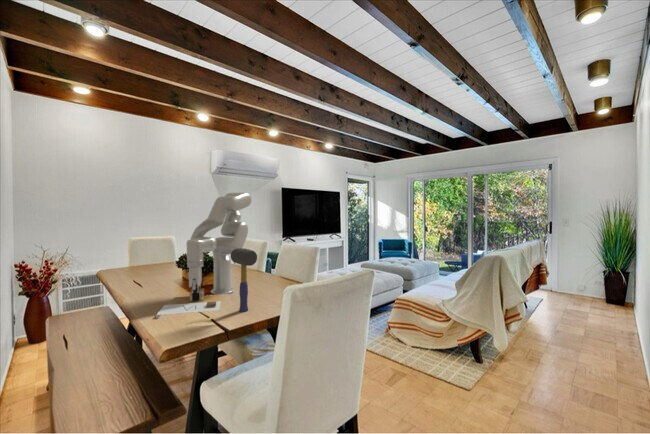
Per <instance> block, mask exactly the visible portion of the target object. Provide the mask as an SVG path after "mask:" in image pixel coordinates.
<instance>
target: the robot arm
mask: <svg viewBox="0 0 650 434" xmlns="http://www.w3.org/2000/svg"><path fill="white" fill-rule="evenodd" d="M251 204H252V197H251V195H250V193H248V192H229V193H226V194H225V195H224V196H218V197H217V198H216V199H215V201H214V203H213V205H212V207H211V210H210V212H209V214H208V216H207V217H206V219H204V220H203V221H202V222H201V223H200V224H198V225H197V226H196V227H195V229H194V230H193V232H192V234H191V236H190V239H187V241H186V262H187V263H186V264H187V269H188V268H189V269H188V288H191V290H192V300H193V301H192V302H198V301H197V300H199V292H198V289H201V284H202V281H203V280H202V279H203V278H202V276H203V273H202V272H203V271H202V267H204V253H206V252H207V253H208V252H212V255H213V256H212V257H213V288H212V289H211V290H210V293H211V294H212V295H215V296H216V295H218V296H219V295H229V294H232V293H234V291H235V289H234V288H233V287H232V260H231V256H230V255H231V252H232V251H233V250H234V249H236V248H243V249H244V245H245V243H246V239H247V237H248V233H249V226H248V224H247V223H246V222H244V221H241V220H242V213H241V212H240V210H244V209H246V208H247V207H249V206H250V205H251ZM220 226H221V228H220V234H221V235H222V236H220V237H216V238H214V237H211V236H208V237H207V236H205V235H206V234H208V232H210V231H212V230H214V229H216V228H218V227H220Z"/></svg>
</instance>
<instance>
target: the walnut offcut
mask: <svg viewBox="0 0 650 434" xmlns="http://www.w3.org/2000/svg"><path fill="white" fill-rule="evenodd" d="M206 302H207V301H206ZM216 302H217V301H208V302H207V304H206V308H211V307H216Z"/></svg>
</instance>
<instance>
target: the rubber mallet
mask: <svg viewBox="0 0 650 434" xmlns="http://www.w3.org/2000/svg"><path fill="white" fill-rule="evenodd" d="M230 259H231V262H233V263H235V264H238V265H240V284H239V309H238V310H239V313H246V312H248V311H249V306H248V296H249V295H248V294H249V288H248V287H249V285H248V278H247V277H248V275H247V272H248V270H247V266H251V267H252V266H253V265H255V264H256V262H257V260H258V254H257V253H256V251H254V250H253V249H252V250H251V249H249V248H244V247H243V248H236V249H234V250H233V251H232V252H231V254H230Z"/></svg>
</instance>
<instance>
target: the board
mask: <svg viewBox="0 0 650 434" xmlns="http://www.w3.org/2000/svg"><path fill="white" fill-rule="evenodd" d="M215 302H216V307H211V308H206V304H207V301H205V302H204V301H203V302H191V303H190V302H189V303H178V304H176V303H175V304H174V303H173V304H164V305H163V306H162V307H161V309H160V310H159V311H158V312H157V314H156V315H155V319H160V317H161V316H162V315H163V316H165V315H174V314H175V315H177V314H189V313H191V314H192V313H201V312H203V313H204V312H216V311H219V310H220V309H221V308H220V307H221V305H222V300H220V301H219V300H218V301H215Z"/></svg>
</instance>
